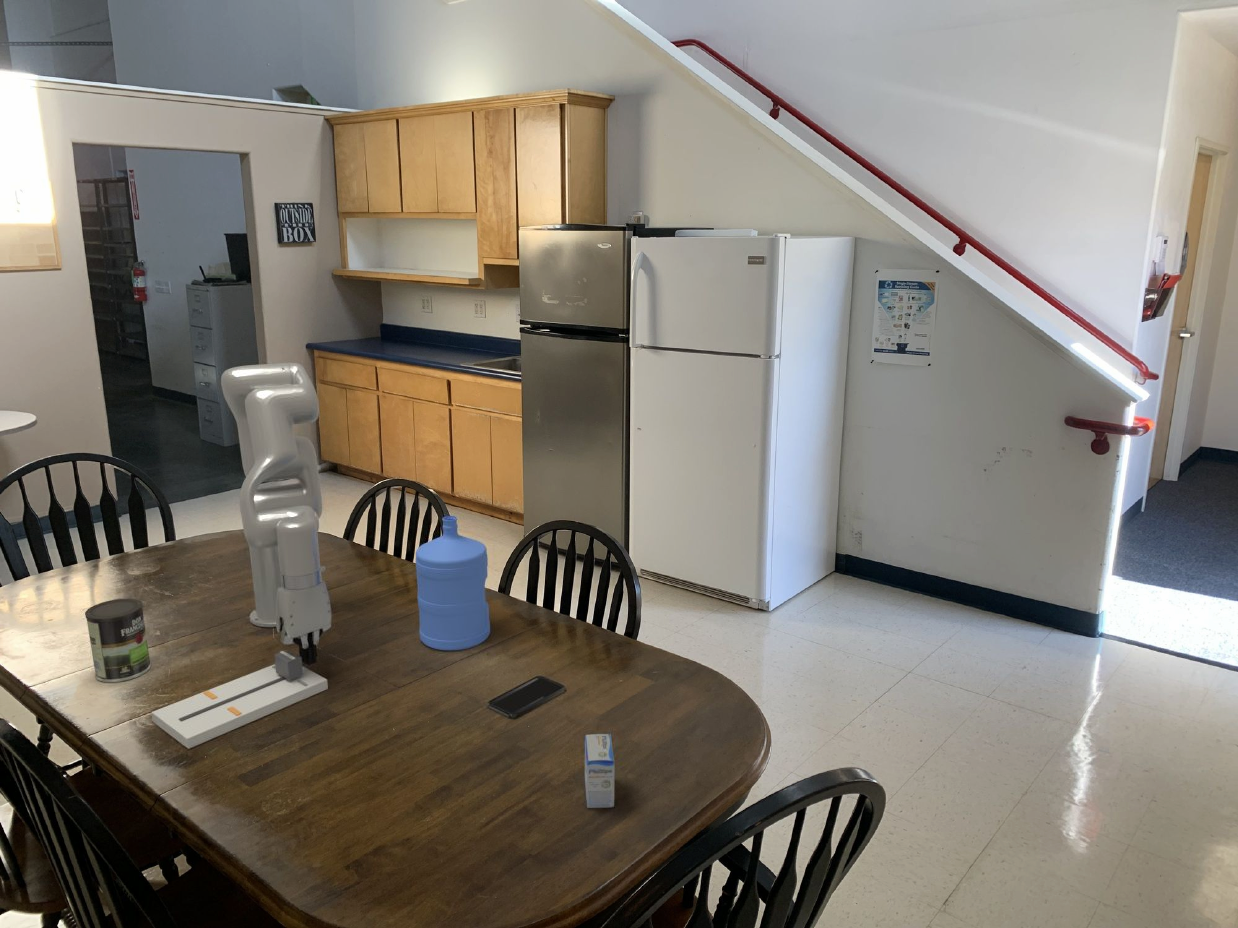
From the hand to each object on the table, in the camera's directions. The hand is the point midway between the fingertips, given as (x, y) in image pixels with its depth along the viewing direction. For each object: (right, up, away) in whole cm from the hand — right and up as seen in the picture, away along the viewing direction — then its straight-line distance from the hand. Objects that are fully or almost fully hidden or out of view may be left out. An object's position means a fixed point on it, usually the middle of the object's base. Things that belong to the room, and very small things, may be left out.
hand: (309, 662), depth 184 cm
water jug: (+26, +1, +19) cm, 33 cm away
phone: (+45, -6, -7) cm, 46 cm away
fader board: (-9, -6, -10) cm, 15 cm away
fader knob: (-3, -2, -3) cm, 4 cm away
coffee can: (-40, -3, +3) cm, 40 cm away
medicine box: (+60, -14, -37) cm, 72 cm away
